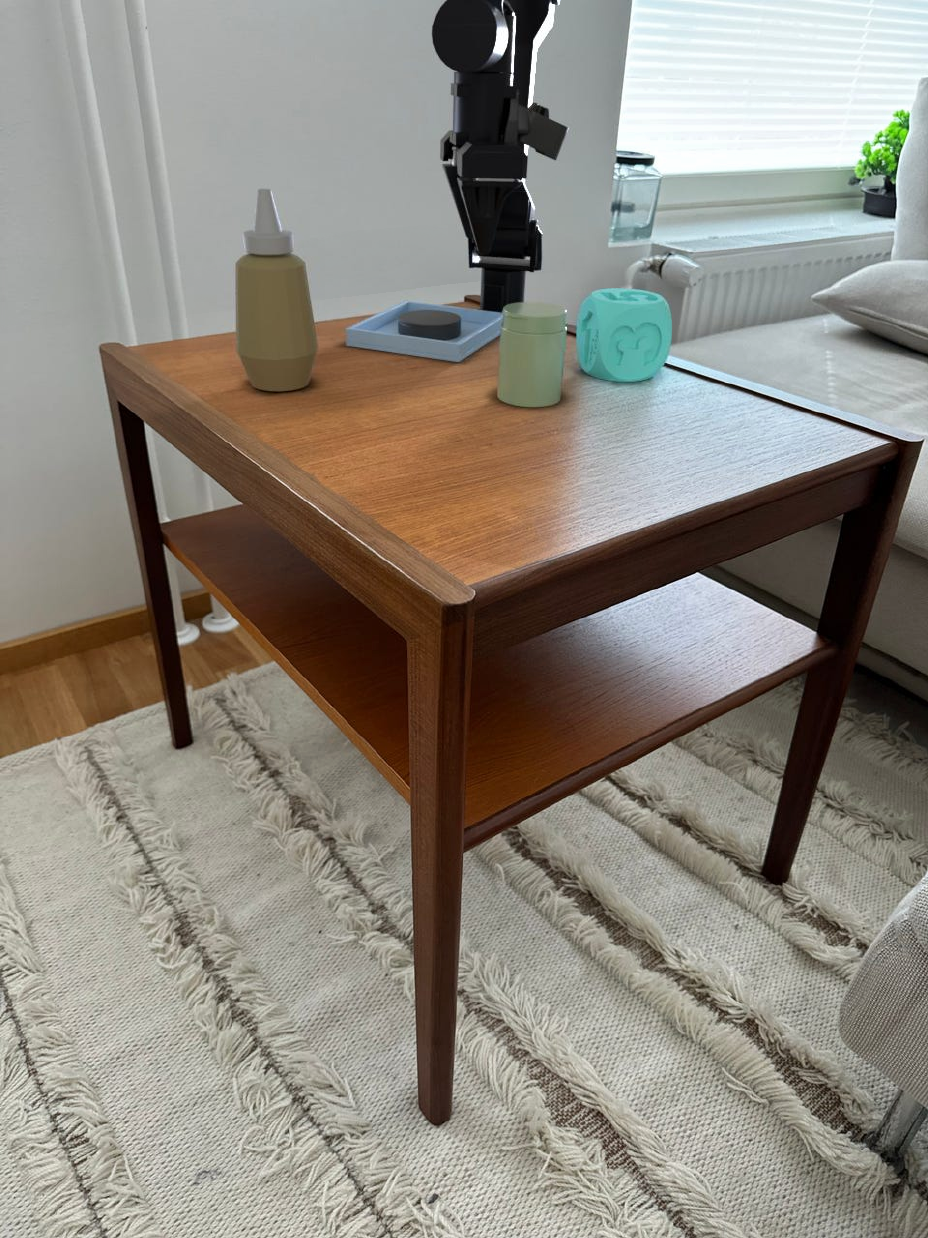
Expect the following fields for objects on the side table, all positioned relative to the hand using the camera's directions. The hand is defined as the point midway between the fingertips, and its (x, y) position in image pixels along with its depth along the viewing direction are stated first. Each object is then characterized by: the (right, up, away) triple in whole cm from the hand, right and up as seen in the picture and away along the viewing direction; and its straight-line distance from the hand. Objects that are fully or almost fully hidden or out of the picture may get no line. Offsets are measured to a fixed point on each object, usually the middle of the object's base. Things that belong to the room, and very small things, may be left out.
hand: (477, 245), depth 94 cm
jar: (+5, -17, -5) cm, 19 cm away
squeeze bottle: (-20, -16, -4) cm, 26 cm away
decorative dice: (+16, -13, +4) cm, 20 cm away
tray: (-5, -6, +14) cm, 16 cm away
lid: (-5, -4, +12) cm, 14 cm away
